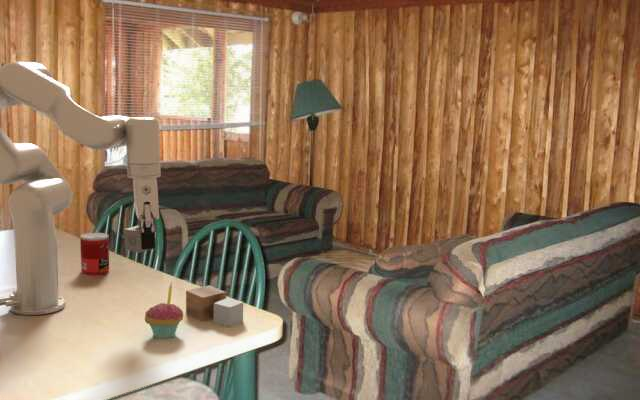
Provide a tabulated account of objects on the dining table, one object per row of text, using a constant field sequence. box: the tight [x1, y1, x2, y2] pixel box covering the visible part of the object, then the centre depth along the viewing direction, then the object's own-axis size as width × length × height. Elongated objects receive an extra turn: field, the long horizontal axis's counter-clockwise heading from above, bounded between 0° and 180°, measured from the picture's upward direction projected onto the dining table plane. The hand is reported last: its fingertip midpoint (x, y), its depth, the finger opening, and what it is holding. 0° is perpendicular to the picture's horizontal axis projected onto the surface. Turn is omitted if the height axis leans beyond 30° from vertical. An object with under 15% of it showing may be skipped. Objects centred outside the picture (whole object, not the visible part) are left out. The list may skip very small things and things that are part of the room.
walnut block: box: [185, 285, 227, 322], centre depth 172 cm, size 7×7×6 cm
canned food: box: [79, 232, 110, 276], centre depth 204 cm, size 8×8×11 cm
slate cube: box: [213, 297, 244, 328], centre depth 167 cm, size 5×5×5 cm
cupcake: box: [144, 281, 184, 339], centre depth 157 cm, size 9×8×12 cm
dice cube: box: [123, 224, 156, 253], centre depth 164 cm, size 5×5×5 cm
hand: (146, 244), depth 165 cm, fingers closed on dice cube, 6 cm apart
